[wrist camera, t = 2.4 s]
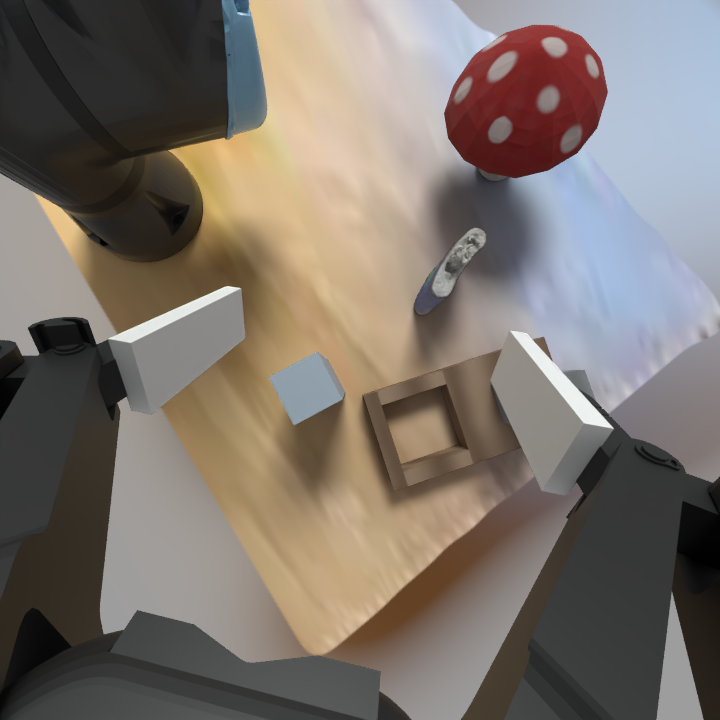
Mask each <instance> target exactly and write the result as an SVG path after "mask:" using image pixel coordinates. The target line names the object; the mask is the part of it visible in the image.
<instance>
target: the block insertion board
mask: <svg viewBox="0 0 720 720" xmlns="http://www.w3.org/2000/svg"><path fill="white" fill-rule="evenodd" d="M532 340H533V341H534V342H535V343H536V344H537V345H538V346H539V347H540V349H541V350H542V351H543V352H544V353H545V354H546V355H547V356H548V357H549V358H550V359H551V361H552V358H551V355H550V352H549V350H548V347H547V344H546V341H545V338H544V337H541V338H536V339H532ZM501 351H502V349H500V350H497V351H494V352H491V353H488V354H485V355H482V356H479V357H476V358H473V359H470V360H467V361H464V362H461V363H458V364H455V365H452V366H449V367H446V368H443V369H440V370H436V371H433V372H430V373H427V374H424V375H421V376H418V377H415V378H412V379H409V380H406V381H403V382H400V383H397V384H394V385H391V386H388V387H385V388H382V389H379V390H376V391H373V392H370V393H367V394H364V395H363V397H364V400H365V403H366V407H367V410H368V413H369V416H370V419H371V422H372V425H373V428H374V431H375V434H376V437H377V440H378V444H379V447H380V450H381V453H382V456H383V459H384V462H385V465H386V468H387V471H388V474H389V477H390V481H391V483H392V486H393V489H394V491H396V490H399V489H402V488H405V487H408V486H411V485H414V484H416V483H419V482H422V481H425V480H428V479H431V478H434V477H437V476H440V475H442V474H445V473H448V472H451V471H454V470H457V469H460V468H463V467H466V466H468V465H471V464H474V463H477V462H480V461H483V460H486V459H489V458H492V457H494V456H497V455H500V454H503V453H506V452H509V451H512V450H515V449H518V448H520V447H521V445H520V443H519V441H518V439H517V437H516V434H515V432H514V430H513V428H512V426H511V424H510V422H509V419H508V417H507V415H506V413H505V411H504V409H503V406H502V404H501V402H500V400H499V398H498V396H497V394H496V391H495V389H494V387H493V385H492V383H491V381H490V379H491V377H492V374H493V372H494V369H495V366H496V364H497V361H498V359H499V356H500V354H501ZM552 362H553V361H552ZM562 373H563V374H564V375H565V376H566V377H567V378H568V379H569V380H570V381H571V382H572V383H573V385H574V386H575V387H576V388H577V389H580V390H582V391H583V392H585V393H586V394H588V395H589V396H591V397H592V398H593V399H594V400H595V397H594V394H593V392H592V389H591V386H590V383H589V381H588V378H587V375H586V372H585V370H568V371H562ZM439 386H440V387H441V390H442V393H443V396H444V399H445V402H446V405H447V408H448V411H449V414H450V417H451V420H452V423H453V426H454V429H455V431H456V434H457V437H458V440H459V443H460V444H459V445H457V446H454V447H451V448H448V449H445V450H442V451H439V452H436V453H433V454H430V455H427V456H424V457H421V458H418V459H416V460H413V461H410V462H407V463H404V464H401V463H400V460H399V457H398V454H397V451H396V448H395V445H394V442H393V439H392V436H391V433H390V430H389V427H388V424H387V421H386V418H385V414H384V411H383V408H382V405H384V404H387V403H390V402H393V401H396V400H399V399H402V398H405V397H408V396H411V395H414V394H417V393H420V392H423V391H426V390H429V389H433V388H436V387H439ZM595 401H596V400H595Z"/></svg>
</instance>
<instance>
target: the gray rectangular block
mask: <svg viewBox="0 0 720 720" xmlns="http://www.w3.org/2000/svg"><path fill="white" fill-rule="evenodd" d="M269 379H270V381H271V382H272V384H273V386H274V388H275V390H276V392H277V394H278V396H279V398H280V400H281V402H282V404H283V406H284V408H285V410H286V411H287V413H288V415H289V417H290V419H291V421H292V423H293V425H296V424H298V423H300V422H301V421H303V420H305V419H307V418H309V417H311V416H313V415H314V414H316V413H318V412H320V411H322V410H324V409H326V408H328V407H329V406H331V405H333V404H335V403H337V402H339V401H341V400H342V399H343V397H344V395H345V391H344V389H343V387H342V385H341V383H340V382H339V380H338V378H337V376H336V374H335V372H334V370H333V368H332V366H331V365H330V363H329V361H328V359H326V358H325V357H324V356H322V355H321V354H320V353H318V352H316V353H314V354H312V355H310V356H308V357H306V358H304V359H302V360H300V361H298V362H297V363H295V364H293V365H291V366H289V367H287V368H285V369H283V370H281V371H279V372H277V373H276V374H274V375H272V376H270V377H269Z"/></svg>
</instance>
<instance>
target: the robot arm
mask: <svg viewBox="0 0 720 720" xmlns="http://www.w3.org/2000/svg"><path fill="white" fill-rule="evenodd" d="M266 115H267V98H266V91H265V84H264V78H263V72H262V66H261V61H260V55H259V50H258V45H257V39H256V34H255V29H254V24H253V19H252V15H251V12H250V9H249V0H0V173H1V174H3V175H4V176H6V177H8V178H10V179H11V180H13V181H15V182H17V183H19V184H20V185H22V186H24V187H26V188H28V189H29V190H31V191H33V192H35V193H36V194H38V195H40V196H42V197H43V198H45V199H47V200H49V201H50V202H52V203H54V204H56V205H57V206H59V207H61V208H62V209H63V210H64V212H65V213H66V214H67V215H68V216H69V217H70V218H71V219H72V220H73V221H74V222H75V223H76V224H77V225H78V226H79V227H80V228H81V230H82V231H83V232H84V233H85V234H86V235H87V236H88V237H89V238H90V239H91V240H92V241H94V242H95V243H96V244H98V245H99V246H100V247H102V248H104V249H105V250H107V251H109V252H111V253H113V254H115V255H117V256H119V257H121V258H124V259H127V260H130V261H136V262H152V261H158V260H162V259H164V258H167V257H169V256H171V255H173V254H175V253H177V252H178V251H180V250H181V249H182V248H183V247H184V246H186V245H187V244H188V242H189V241H190V240H191V239H192V238H193V236H194V235H195V233H196V231H197V229H198V227H199V224H200V221H201V217H202V210H203V202H202V196H201V192H200V189H199V186H198V184H197V182H196V180H195V179H194V177H193V176H192V175H191V173H190V172H189V171H188V169H187V168H186V167H185V166H184V164H183V163H182V162H181V161H180V160H179V159H178V158H177V157H176V156H174V155H173V154H172V153H171V152H169V151H168V150H171V149H175V148H180V147H184V146H189V145H193V144H198V143H202V142H207V141H211V140H216V139H220V138H225V139H226V140H228V139H230V138H232V137H233V135H236V134H239V133H243V132H246V131H250V130H253V129H256V128H258V127H260V126H261V125H262V124H263V122H264V120H265V118H266ZM28 330H29V332H30V334H31V336H32V338H33V341H34V343H35V345H36V347H37V349H38V351H39V353H40V354H39V355H38V356H22V355H21V353H20V350H19V348H18V346H17V345H16V343H15V342H12V341H5V340H0V720H411V719H410V718H409V716H408V715H407V714H406V713H405V712H404V711H403V710H402V709H401V708H400V707H399V706H398V705H397V704H396V703H394V702H393V701H392V700H391V699H390V698H388V697H387V696H386V695H384V694H383V693H381V692H380V691H379V687H380V671H377V670H373V669H369V668H365V667H361V666H356V665H353V664H349V663H345V662H341V661H337V660H333V659H329V658H325V657H321V656H310V657H301V658H292V659H284V660H274V661H265V662H256V663H247V662H245V661H243V660H241V659H240V658H238V657H237V656H236V655H234V654H233V653H231V652H230V651H229V650H227V649H226V648H225V647H223V646H222V645H221V644H219V643H218V642H217V641H215V640H214V639H213V638H211V637H210V636H209V635H207V634H206V633H205V632H203V631H202V630H201V629H199V628H198V627H197V626H195V625H194V624H190V623H186V622H182V621H178V620H174V619H170V618H166V617H162V616H158V615H154V614H150V613H146V612H142V611H138V610H137V612H136V613H135V614H134V616H133V617H132V619H131V620H130V622H129V623H128V625H127V626H126V628H125V629H124V630H121V631H117V632H113V633H108V634H103V630H102V624H101V619H100V598H101V589H102V580H103V570H104V561H105V550H106V541H107V531H108V523H109V514H110V504H111V494H112V485H113V476H114V467H115V457H116V448H117V437H118V428H119V420H120V410H119V407H118V404H117V402H119V401H120V400H122V399H123V398H125V397H126V396H127V398H128V401H129V404H130V407H131V410H132V411H138V412H143V413H147V414H153V413H154V412H155V411H156V410H158V409H159V408H160V407H162V406H163V405H164V404H165V403H166V402H168V401H169V400H170V399H171V398H173V397H174V396H175V395H176V394H178V393H179V392H180V391H181V390H182V389H184V388H185V387H186V386H187V385H189V384H190V383H191V382H192V381H193V380H195V379H196V378H197V377H198V376H200V375H201V374H202V373H203V372H205V371H206V370H207V369H208V368H209V367H211V366H212V365H213V364H214V363H216V362H217V361H218V360H219V359H221V358H222V357H223V356H224V355H225V354H227V353H228V352H229V351H230V350H232V349H233V348H234V347H235V346H236V345H238V344H239V343H240V342H241V341H243V340H244V339H245V327H244V315H243V303H242V291H241V288H237V287H230V286H226V287H223V288H221V289H219V290H216V291H214V292H212V293H210V294H207V295H205V296H203V297H201V298H198V299H196V300H194V301H192V302H189V303H187V304H185V305H183V306H180V307H178V308H176V309H174V310H171V311H169V312H167V313H165V314H162V315H160V316H158V317H156V318H153V319H151V320H149V321H147V322H144V323H142V324H140V325H138V326H135V327H133V328H131V329H129V330H126V331H124V332H122V333H119V334H117V335H115V336H113V337H110V338H108V340H106V341H104V342H102V343H99V344H97V345H96V342H95V339H94V336H93V334H92V331H91V328H90V325H89V322H88V320H86V319H83V318H77V317H63V318H54V319H49V320H44V321H41V322H38V323H35V324H32V325H31V326H30V327H28ZM490 381H491V383H492V385H493V387H494V389H495V391H496V394H497V396H498V398H499V400H500V402H501V404H502V406H503V409H504V411H505V413H506V415H507V417H508V419H509V422H510V424H511V426H512V428H513V430H514V432H515V434H516V437H517V439H518V441H519V443H520V445H521V447H522V449H523V452H524V454H525V456H526V458H527V460H528V462H529V464H530V467H531V469H532V471H533V473H534V475H535V477H536V479H537V481H538V484H539V486H540V488H541V490H542V491H545V492H550V493H555V494H560V495H565V496H567V495H568V494H569V493H570V491H571V490H572V488H573V487H574V485H575V484H576V482H577V483H578V485H579V487H580V488H581V490H582V492H583V493H584V494H583V495H582V496H581V498H580V499H579V501H578V502H577V503H576V505H575V506H574V507H573V509H572V510H571V511H570V513H569V514H568V516H567V517H566V518H568V521H567V523H566V525H565V527H564V528H563V530H562V532H561V534H560V536H559V538H558V540H557V542H556V544H555V546H554V547H553V549H552V552H551V553H550V555H549V557H548V559H547V561H546V563H545V565H544V567H543V568H542V570H541V572H540V574H539V576H538V578H537V580H536V582H535V584H534V585H533V587H532V589H531V591H530V593H529V595H528V597H527V599H526V601H525V603H524V605H523V606H522V608H521V610H520V612H519V614H518V616H517V618H516V620H515V622H514V623H513V626H512V627H511V629H510V631H509V633H508V635H507V637H506V639H505V641H504V642H503V644H502V646H501V648H500V650H499V652H498V654H497V656H496V658H495V660H494V661H493V663H492V665H491V667H490V669H489V671H488V673H487V675H486V677H485V679H484V680H483V682H482V684H481V686H480V688H479V690H478V692H477V694H476V695H475V697H474V699H473V701H472V703H471V705H470V706H469V708H468V710H467V711H466V713H465V714H464V716H463V717H462V719H461V720H656V718H657V709H658V700H659V692H660V684H661V675H662V667H663V659H664V651H665V642H666V634H667V625H668V617H669V609H670V600H671V592H672V593H673V596H674V601H675V605H676V609H677V613H678V617H679V621H680V625H681V629H682V633H683V637H684V641H685V645H686V650H687V653H688V657H689V662H690V666H691V670H692V674H693V678H694V682H695V686H696V690H697V694H698V698H699V702H700V706H701V710H702V714H703V719H704V720H720V477H719V478H718V479H717V480H716V481H715V482H714V483H711V482H709V481H706V480H703V479H700V478H697V477H695V476H692V475H689V474H686V472H685V469H684V467H683V465H681V463H680V462H679V461H678V460H677V459H676V458H674V457H673V456H672V455H670V454H669V453H667V452H666V451H664V450H662V449H660V448H658V447H657V446H655V445H652V444H650V443H647V442H645V441H642V440H637V439H632V438H631V437H630V436H629V435H628V434H627V433H626V432H625V431H624V430H623V429H622V428H621V427H620V426H619V425H618V424H617V423H616V422H615V421H614V420H613V419H612V417H609V414H608V413H607V412H606V411H605V410H604V409H602V407H601V406H600V405H599V404H598V403H597V402H596V401H595V400H594V399H593V398H592V397H591V396H589V395H588V394H586V393H585V392H583V391H582V390H580V389H577V388H576V387H575V386H574V385H573V383H572V382H571V381H570V380H569V379H568V378H567V377H566V376H565V375H564V374H563V373H562V371H561V370H560V369H559V368H558V367H557V366H556V365H555V364H554V363H553V362H552V361H551V359H550V358H549V357H548V356H547V355H546V354H545V353H544V352H543V351H542V350H541V349H540V347H539V346H538V345H537V344H536V343H535V342H534V341H533V340H532V339H531V338H530V337H529V336H528V334H527V333H522V332H516V331H509V333H508V336H507V338H506V341H505V343H504V346H503V348H502V351H501V354H500V356H499V359H498V361H497V364H496V366H495V369H494V372H493V374H492V377H491V379H490Z"/></svg>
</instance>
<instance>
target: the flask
mask: <svg viewBox="0 0 720 720" xmlns="http://www.w3.org/2000/svg"><path fill="white" fill-rule="evenodd" d="M486 241H487V236H486V232H485V231H483V230H481V229H480V228H472V229H470V230H469V231H468V232H466V233H465V234H464V235H463V236H462V237H461V238H460V239H459V240H458V241H457V242H456V243H455V244H454V245H453V246H452V248H451V249H450V250H449V251H448V253H447V254H446V255H445V257H444V258H443V259H442V261H441V262H440V263H439V264H438V266H437V267H436V268H434V269H433V271H432V272H431V273H430V274H429V276H428V277H427V279H426V281H425V283H424V285H423V286H422V288H421V290H420V292H419V293H418V295H417V298H416V300H415V303H414V309H415V311H416V312H417V313H418V314H420V315H426V314H428V313H429V312H430V311H431V310H432V309H433V308H434V307H435V306H436V305H438V304H439V303H440V302H441V301H443V300H444V299H445V298H447V297H448V296H449V295H450V294H451V292H452V291H453V289H454V286H455V284H456V281H457V279H458V277H459V276H460V274H461V273H462V271H463V270H464V268H465V267H466V265H467V264H468V262H469V261H470V260H471V259H472V258H473V256H474V255H475V254H476V253H477V252H478V251H479V250H480V249H481V248H482V247H483V246H484V245H485V244H486Z"/></svg>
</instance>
